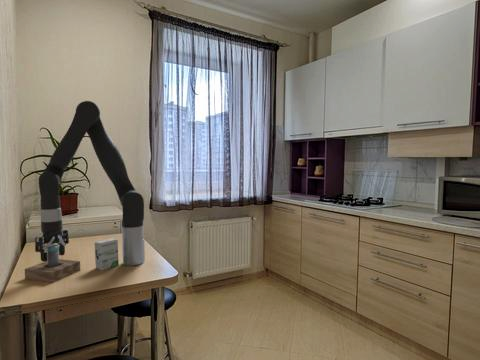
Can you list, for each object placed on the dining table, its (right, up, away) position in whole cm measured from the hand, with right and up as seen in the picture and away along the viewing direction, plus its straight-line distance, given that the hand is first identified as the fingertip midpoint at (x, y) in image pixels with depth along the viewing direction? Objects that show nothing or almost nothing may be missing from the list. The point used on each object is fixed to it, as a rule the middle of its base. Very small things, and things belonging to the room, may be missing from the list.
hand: (53, 258), depth 131 cm
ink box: (+18, -6, +10) cm, 22 cm away
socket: (0, -7, 0) cm, 7 cm away
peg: (0, -7, 0) cm, 7 cm away
